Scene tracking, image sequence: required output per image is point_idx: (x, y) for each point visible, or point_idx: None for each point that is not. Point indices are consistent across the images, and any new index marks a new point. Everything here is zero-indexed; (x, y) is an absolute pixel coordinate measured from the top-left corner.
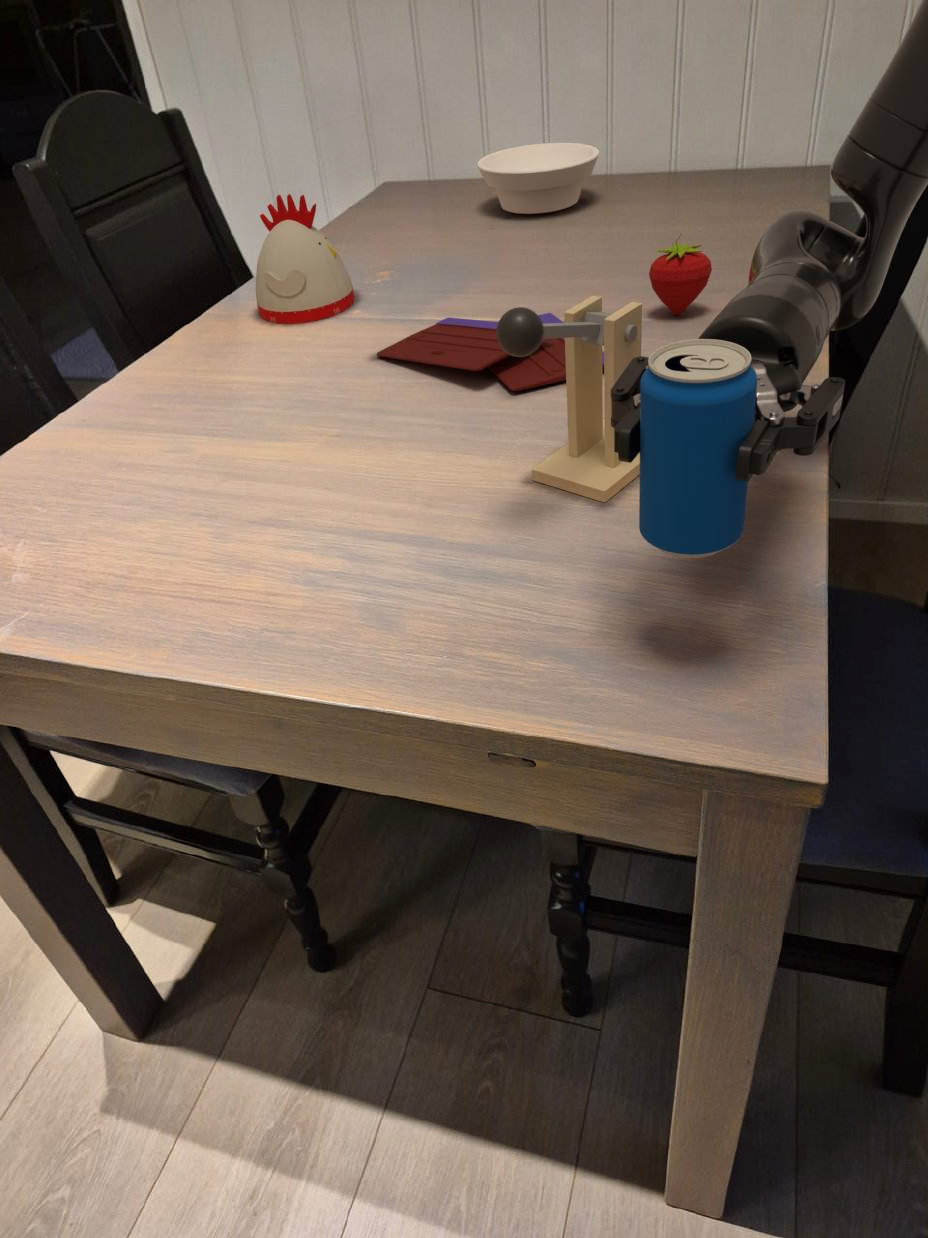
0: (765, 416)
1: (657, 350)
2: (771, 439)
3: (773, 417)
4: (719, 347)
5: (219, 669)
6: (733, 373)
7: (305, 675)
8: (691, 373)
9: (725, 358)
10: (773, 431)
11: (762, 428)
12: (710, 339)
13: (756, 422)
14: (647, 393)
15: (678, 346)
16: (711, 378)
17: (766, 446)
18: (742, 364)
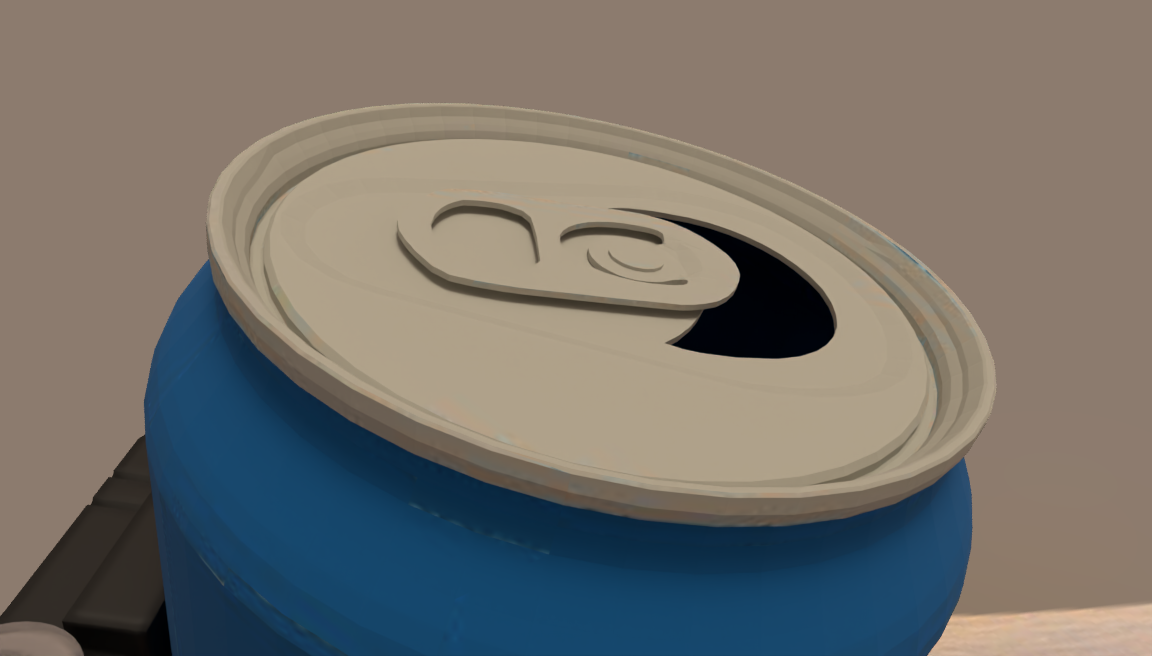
0: (72, 651)
1: (965, 328)
2: (91, 515)
3: (11, 644)
4: (537, 443)
5: (1148, 628)
6: (353, 114)
7: (1038, 652)
8: (596, 183)
9: (431, 264)
10: (47, 599)
11: (133, 527)
12: (688, 483)
13: (156, 598)
14: (757, 273)
15: (920, 448)
16: (468, 105)
17: (138, 462)
18: (287, 218)
